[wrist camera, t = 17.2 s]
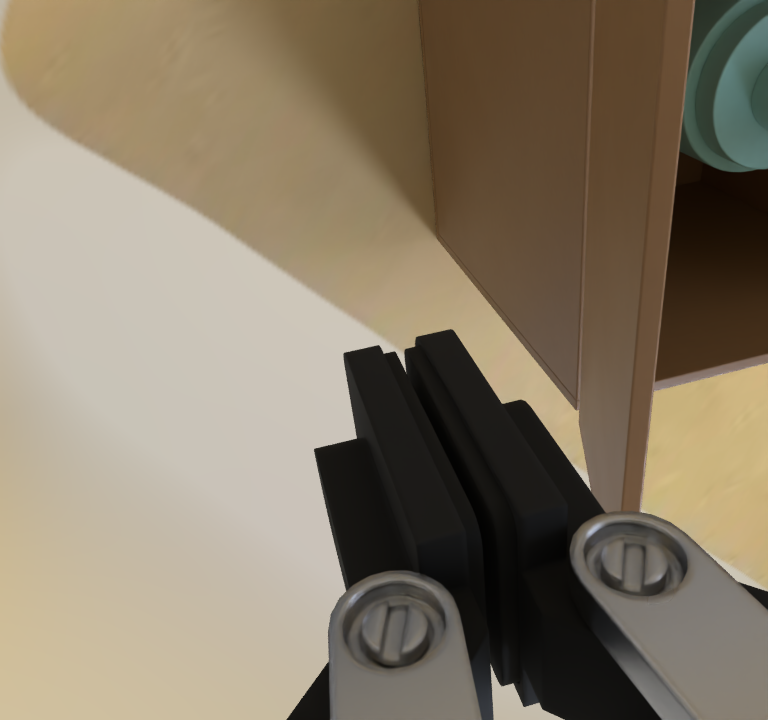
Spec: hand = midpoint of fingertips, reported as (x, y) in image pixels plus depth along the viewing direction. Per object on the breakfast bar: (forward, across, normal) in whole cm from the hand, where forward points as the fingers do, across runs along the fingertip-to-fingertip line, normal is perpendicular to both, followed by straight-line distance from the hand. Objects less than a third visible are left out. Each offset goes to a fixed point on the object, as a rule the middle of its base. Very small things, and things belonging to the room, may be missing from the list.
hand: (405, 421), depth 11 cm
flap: (+4, -6, 0) cm, 7 cm away
